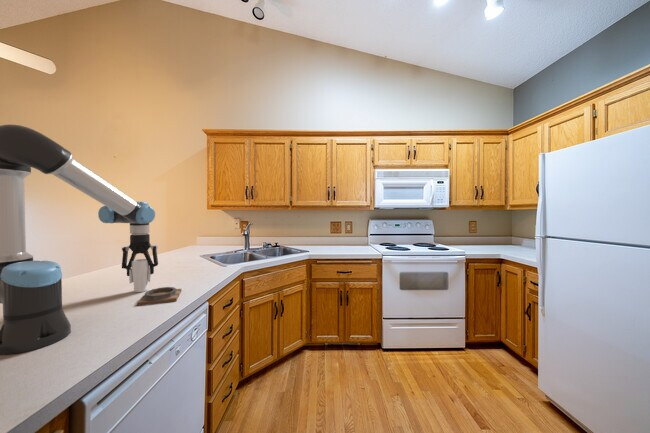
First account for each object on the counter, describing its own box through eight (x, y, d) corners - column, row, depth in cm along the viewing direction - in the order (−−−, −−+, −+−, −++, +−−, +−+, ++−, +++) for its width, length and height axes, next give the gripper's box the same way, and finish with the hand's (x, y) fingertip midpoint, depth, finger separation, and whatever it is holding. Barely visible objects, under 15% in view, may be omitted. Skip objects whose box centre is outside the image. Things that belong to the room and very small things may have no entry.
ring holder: (176, 301, 108) (176, 294, 108) (137, 305, 103) (137, 298, 103) (181, 291, 121) (181, 284, 121) (146, 294, 116) (146, 288, 116)
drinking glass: (134, 289, 123) (133, 259, 122) (150, 287, 126) (150, 258, 125) (130, 294, 117) (129, 262, 116) (147, 292, 120) (147, 260, 119)
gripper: (165, 232, 127) (166, 277, 128) (117, 233, 120) (118, 281, 121) (162, 234, 120) (162, 281, 121) (111, 235, 113) (112, 286, 114)
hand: (140, 281), depth 121 cm, fingers closed on drinking glass, 7 cm apart
